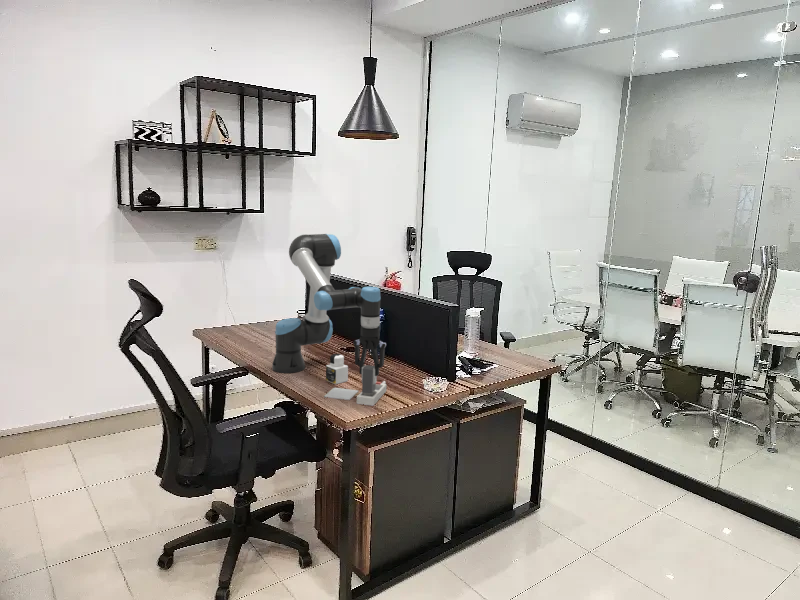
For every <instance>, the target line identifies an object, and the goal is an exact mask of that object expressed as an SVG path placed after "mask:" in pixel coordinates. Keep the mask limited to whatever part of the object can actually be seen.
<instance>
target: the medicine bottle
mask: <svg viewBox="0 0 800 600" xmlns="http://www.w3.org/2000/svg"><path fill="white" fill-rule="evenodd" d="M325 381H327V382H329V383H331V384H333V385H338V384H342V383H346V382H348V381H349V366H348V365H347V364H345V356H344V355H343V354H341V353H333V354H331V355H330V356H329V364H327V365H325Z"/></svg>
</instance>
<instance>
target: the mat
mask: <svg viewBox="0 0 800 600" xmlns="http://www.w3.org/2000/svg"><path fill="white" fill-rule="evenodd" d="M358 393H359V390H357V389H349V388H340V387H333V388H332V389H331V390H329V391H328V392H327V393H326V394H325V395H324V396H323V397H324V398H327V397H328V398H329V399H335V400H336V399H337V400H343V399H344V400H345V401H350V400H351V399H353V397H354V396H356V394H358Z"/></svg>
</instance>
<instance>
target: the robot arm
mask: <svg viewBox="0 0 800 600" xmlns="http://www.w3.org/2000/svg"><path fill="white" fill-rule="evenodd" d="M341 255H342V247H341V244H340V241H339V238H338V237H337V236H336V235H335V234H331V233H329V234H328V233H318V234H317V233H315V234H301V235H298V236H297V237H295V238H294V239H293V240H292V241H291V243H290V244H289V248H288V256H289V259H290V261H291V262H292V264H293V265H294V266H295V267H297V268H298V269H299V271H300V273H301V274H302V275H303V277H304V278H305V281H306V282H307V283H308V285H309V287H310V288H309V298H308V310H307V313H306V314H305V315H304V317H303V320H301V319H300V318H298V317H293V318H292V317H291V318H290V317H287V318H284V319H282V320H279V321H278V322H276V325H275V331H274V335H275V354H274V357H273V361H272V364H271V369H272V370H273V371H274V372H277V373H281V374H292V373H299V372H301V371H304V369H305V368H306V362H305V360H304V357H303V354H302V346H309V345H315V344H318V345H320V344H322V343H327V342H329V341H330V340H331V338H332V336H333V332H334V330H333V329H334V327H333V322H332V320H331V319H330V317H329V316H328V314H327V311H332V310H339V309H350V308H351V309H352V308H359V309H360V325H361V326H360V337H359V339H355V340H353V341H352V342H353V347H354V364H355V365H357V366H358V367H359V374H360V375H361V376H362V375H363V368H364V367H365V366H366V365H365V361H366V358H367V357H366V356H367V352H368V350H370V351H371V353H372V354H371V355H372V359H373V363H374V365H373V366H375V367H374V368H373V384H375V383H376V382H378V380H377V377H378V376H379V375H380V368H383V366H384V365H385V352H386V347H387V342H383V341H382V340H381V339H380V334H381V333H380V330H381V328H380V326H381V325H380V324H381V323H380V322H381V321H380V320H381V316H380V315H381V299H382V298H381V297H382V296H381V290H380V288H379V287H376V286H364V287H362V288H361V287H358V286H357V287H356V286H352V287H349V288H348V289H335V288H334V287H333V285H332V283H331V282H330V280H331V272H332V271H331V270H332V268H333V267H334V266H335V264H336V261H338V260H339V259H340V258H341ZM360 344H361V346H362V350H360V348H361V347H360ZM378 346H379V348H380V349H379V355H378V348H377V347H378ZM360 351H361V354H360Z"/></svg>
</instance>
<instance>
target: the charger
mask: <svg viewBox="0 0 800 600" xmlns="http://www.w3.org/2000/svg"><path fill="white" fill-rule="evenodd" d="M374 367H375V365H368V364H367V365H365V367H364V368H363V375H362V374H361V385H362V386H361V387H362V389H361V392H362V393H370V394H372V393H373V392H374V391H375V389H376V383H375V384H373V368H374Z"/></svg>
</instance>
